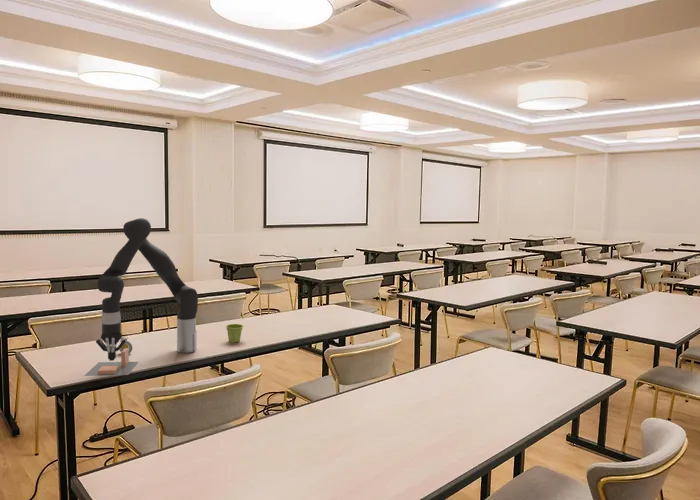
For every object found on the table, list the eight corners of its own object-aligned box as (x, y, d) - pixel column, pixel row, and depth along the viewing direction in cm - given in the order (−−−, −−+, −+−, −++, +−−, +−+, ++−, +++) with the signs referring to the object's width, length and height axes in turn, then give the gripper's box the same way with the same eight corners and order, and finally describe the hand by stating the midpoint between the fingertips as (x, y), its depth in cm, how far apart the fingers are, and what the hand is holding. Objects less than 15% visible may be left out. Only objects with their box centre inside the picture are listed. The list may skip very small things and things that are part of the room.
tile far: (128, 362, 234) (128, 348, 233) (125, 367, 228) (124, 352, 227) (125, 362, 234) (124, 348, 233) (121, 367, 228) (121, 352, 227)
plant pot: (245, 339, 282) (245, 324, 281) (240, 344, 273) (240, 328, 272) (229, 338, 283) (229, 323, 282) (223, 343, 274) (223, 327, 273)
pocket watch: (114, 361, 239) (114, 340, 238) (113, 355, 247) (113, 336, 246) (133, 359, 243) (133, 338, 242) (131, 354, 251) (131, 334, 250)
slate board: (139, 364, 236) (139, 361, 236) (128, 377, 218) (128, 374, 218) (98, 364, 233) (98, 362, 233) (84, 378, 216) (84, 375, 216)
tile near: (119, 365, 225) (102, 366, 224) (114, 370, 219) (97, 370, 218) (119, 369, 225) (102, 369, 224) (115, 373, 219) (97, 374, 218)
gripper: (129, 319, 224) (130, 357, 226) (98, 319, 222) (98, 357, 224) (124, 323, 217) (125, 362, 218) (92, 323, 215) (92, 363, 216)
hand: (111, 360), depth 221 cm, fingers closed
